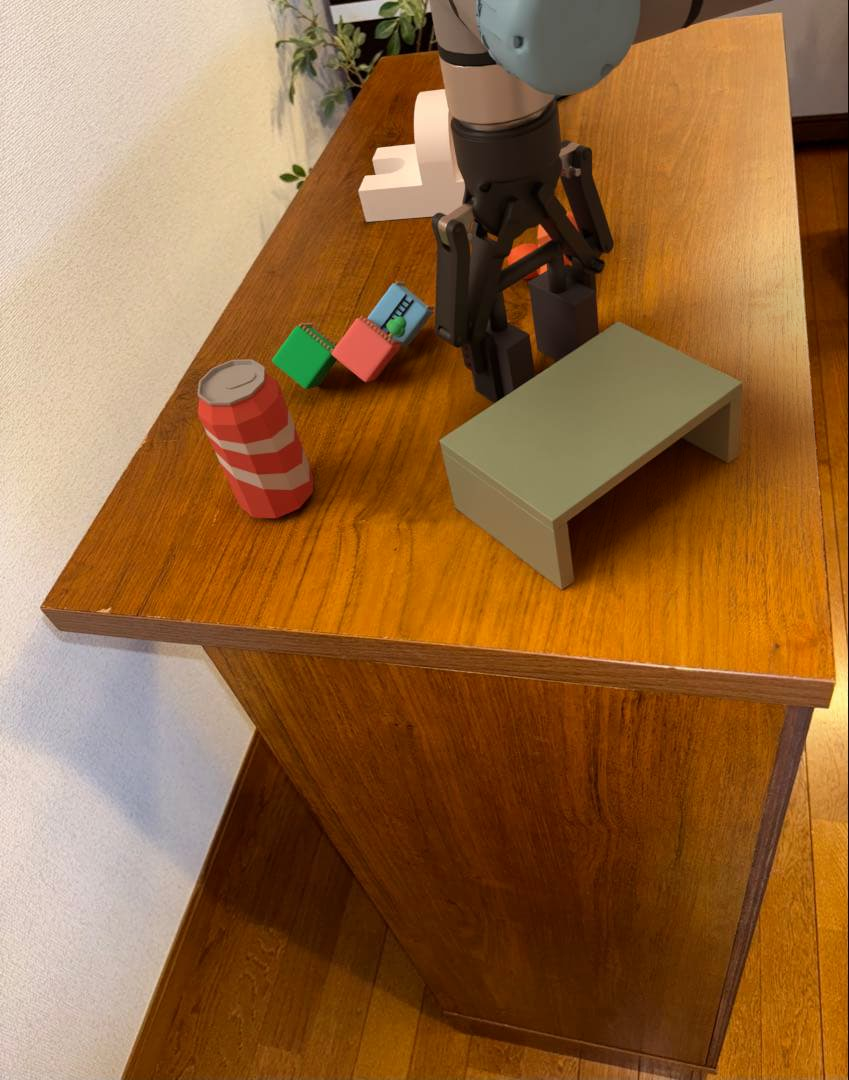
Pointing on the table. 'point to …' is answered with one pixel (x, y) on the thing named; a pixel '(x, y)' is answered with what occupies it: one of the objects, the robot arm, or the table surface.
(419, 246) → the table surface
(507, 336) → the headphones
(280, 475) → the beverage can
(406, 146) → the white thick notched block
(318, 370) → the building blocks
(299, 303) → the table surface
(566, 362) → the shelf
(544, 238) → the orange toy bird
